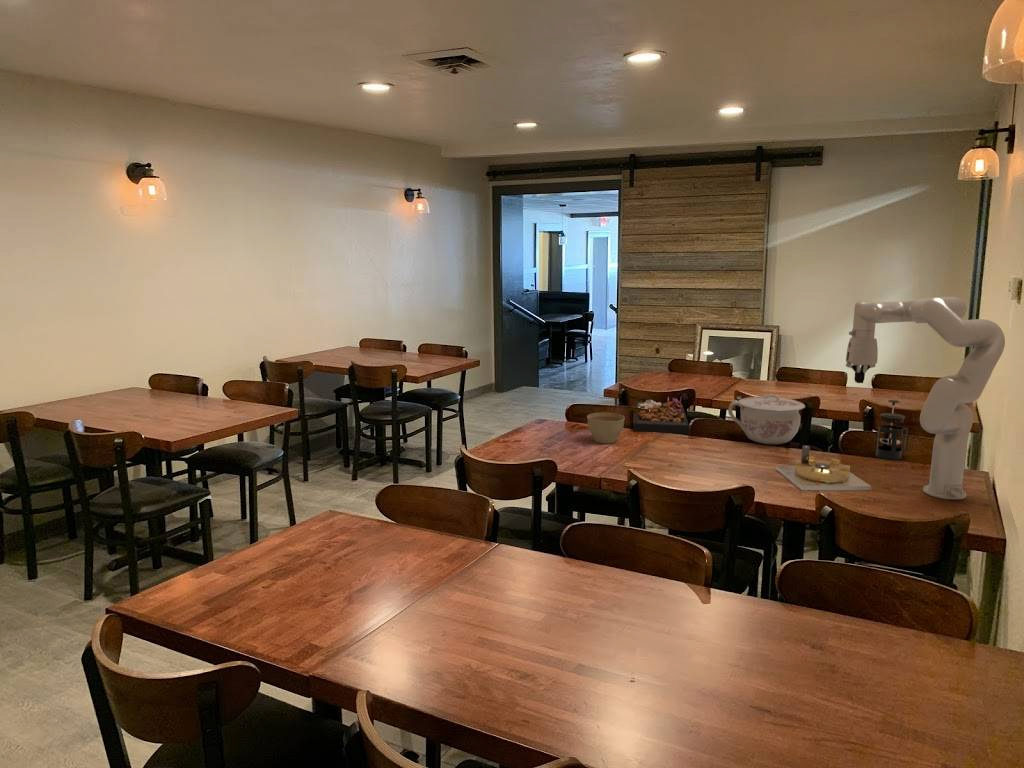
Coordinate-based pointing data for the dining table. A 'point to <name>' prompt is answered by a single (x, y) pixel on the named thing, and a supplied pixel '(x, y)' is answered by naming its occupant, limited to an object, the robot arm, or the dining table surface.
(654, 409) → the food platter
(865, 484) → the base plate
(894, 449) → the french press
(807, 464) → the gold disc with post
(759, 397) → the chamber pot
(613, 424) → the planter bowl
